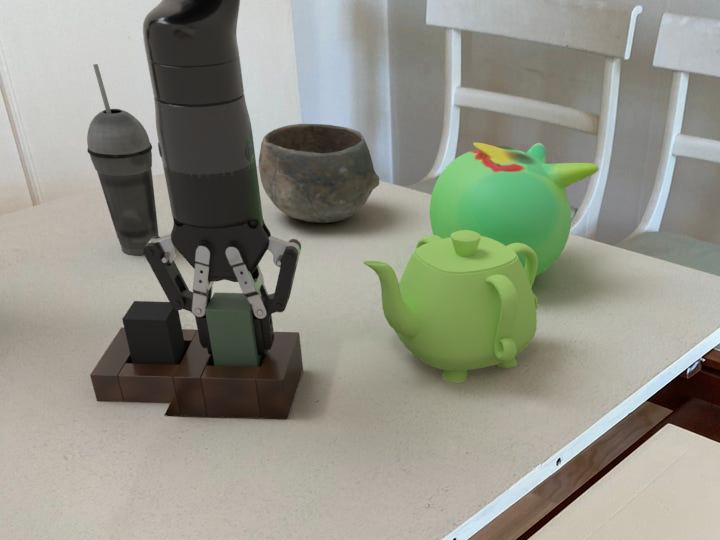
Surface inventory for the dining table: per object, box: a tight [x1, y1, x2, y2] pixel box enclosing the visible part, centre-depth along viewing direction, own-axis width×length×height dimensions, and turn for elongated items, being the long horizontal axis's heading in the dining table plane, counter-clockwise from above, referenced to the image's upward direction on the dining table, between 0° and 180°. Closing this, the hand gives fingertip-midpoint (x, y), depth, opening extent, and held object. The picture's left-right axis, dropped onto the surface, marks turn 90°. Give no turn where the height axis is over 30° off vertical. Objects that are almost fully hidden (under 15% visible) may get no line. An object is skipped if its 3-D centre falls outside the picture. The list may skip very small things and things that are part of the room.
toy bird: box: [429, 141, 600, 277], centre depth 113 cm, size 18×17×15 cm
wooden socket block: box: [89, 326, 304, 420], centre depth 93 cm, size 18×10×4 cm, turn 89°
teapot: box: [362, 230, 539, 384], centre depth 96 cm, size 16×14×13 cm
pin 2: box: [205, 291, 265, 367], centre depth 91 cm, size 4×4×8 cm
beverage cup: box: [86, 63, 159, 256], centre depth 114 cm, size 7×7×20 cm
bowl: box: [258, 123, 380, 224], centre depth 127 cm, size 14×15×10 cm
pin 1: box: [121, 300, 186, 365], centre depth 92 cm, size 4×4×8 cm
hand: (238, 350), depth 92 cm, fingers closed on pin 2, 4 cm apart
